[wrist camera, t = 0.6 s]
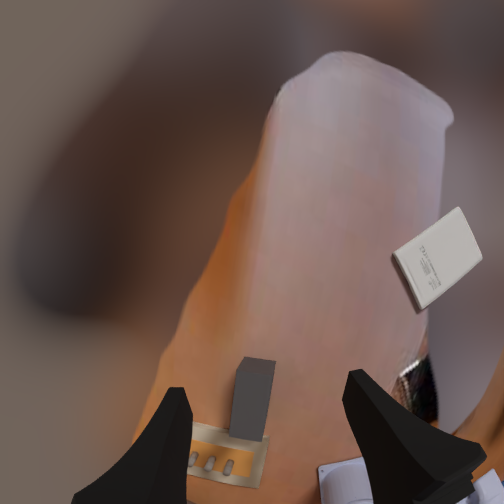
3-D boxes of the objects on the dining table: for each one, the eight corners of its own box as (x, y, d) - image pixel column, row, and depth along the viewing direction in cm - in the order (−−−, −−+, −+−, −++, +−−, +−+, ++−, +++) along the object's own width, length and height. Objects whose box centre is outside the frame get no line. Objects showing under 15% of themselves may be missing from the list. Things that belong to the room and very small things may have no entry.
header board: (269, 436, 31) (266, 453, 26) (259, 483, 30) (255, 501, 26) (169, 414, 33) (156, 427, 28) (169, 463, 32) (158, 477, 28)
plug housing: (244, 356, 32) (236, 370, 27) (275, 361, 32) (273, 375, 26) (236, 416, 31) (228, 436, 26) (265, 421, 31) (261, 442, 26)
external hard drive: (477, 259, 29) (417, 309, 30) (453, 208, 31) (390, 253, 31) (483, 258, 28) (423, 310, 29) (459, 205, 29) (395, 252, 30)
